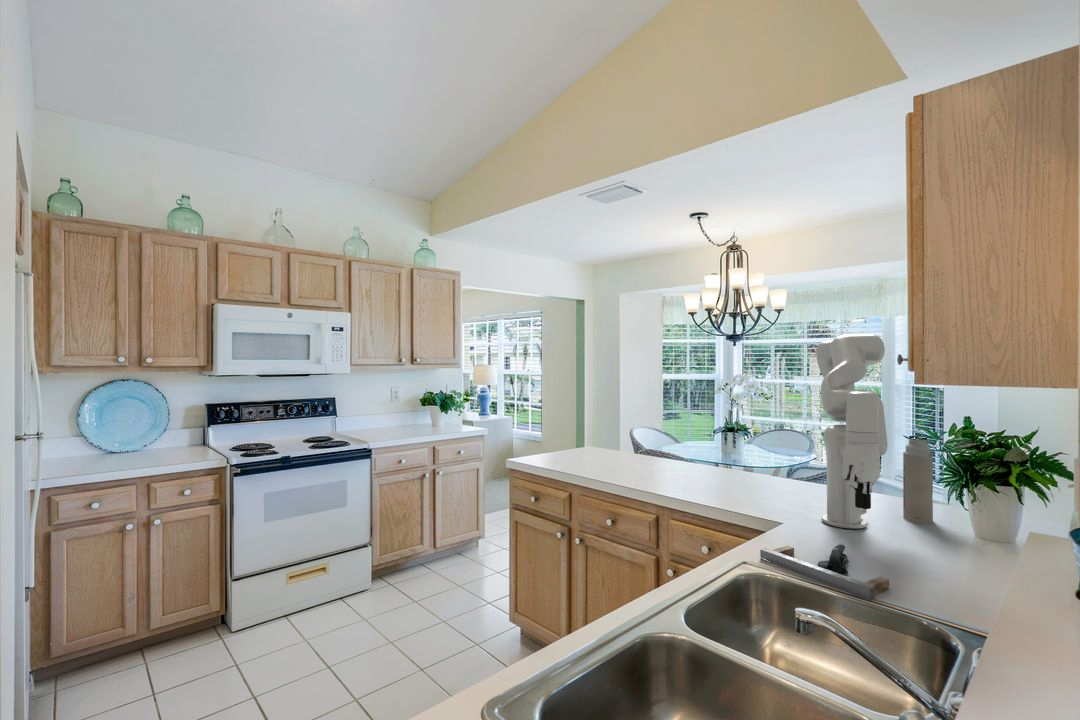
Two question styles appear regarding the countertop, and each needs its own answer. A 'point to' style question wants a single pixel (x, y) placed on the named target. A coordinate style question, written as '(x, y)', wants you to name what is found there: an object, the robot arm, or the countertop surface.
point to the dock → (825, 574)
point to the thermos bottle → (918, 482)
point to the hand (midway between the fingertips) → (862, 507)
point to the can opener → (836, 561)
